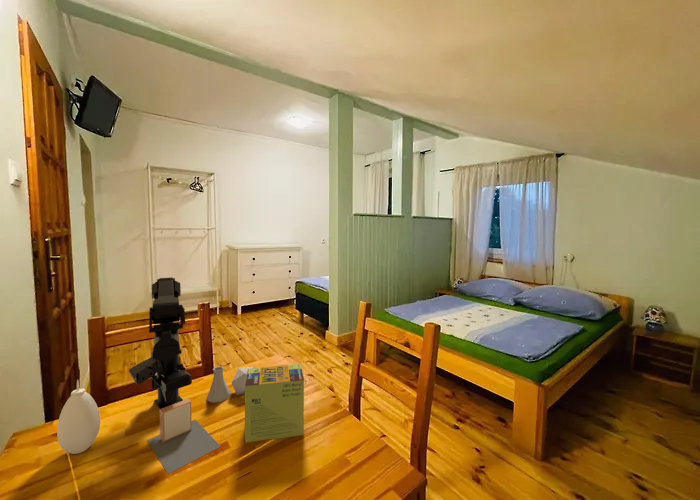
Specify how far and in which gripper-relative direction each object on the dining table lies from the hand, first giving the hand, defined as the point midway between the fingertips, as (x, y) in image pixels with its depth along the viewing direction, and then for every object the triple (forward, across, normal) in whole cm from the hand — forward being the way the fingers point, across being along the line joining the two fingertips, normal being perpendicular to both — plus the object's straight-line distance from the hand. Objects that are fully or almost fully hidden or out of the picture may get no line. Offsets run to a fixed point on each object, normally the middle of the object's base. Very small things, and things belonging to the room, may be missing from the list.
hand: (168, 401), depth 85 cm
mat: (+7, +11, 0) cm, 13 cm away
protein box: (+7, +22, +20) cm, 31 cm away
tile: (+7, +6, 0) cm, 9 cm away
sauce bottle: (+7, -5, -18) cm, 20 cm away
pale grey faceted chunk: (+7, -1, +24) cm, 25 cm away
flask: (+7, -4, +16) cm, 18 cm away
